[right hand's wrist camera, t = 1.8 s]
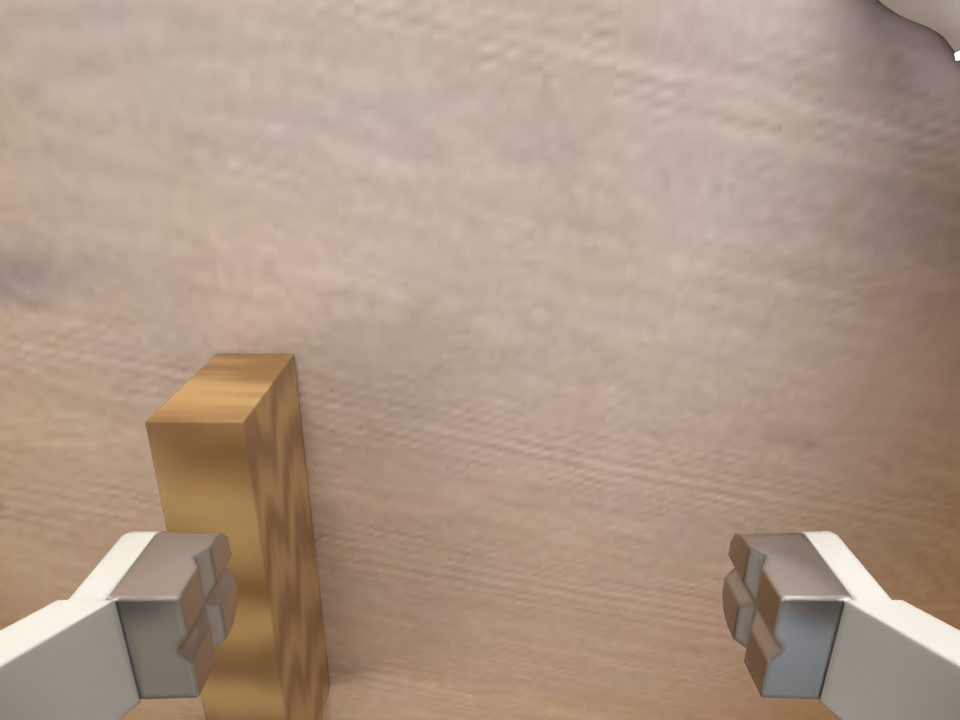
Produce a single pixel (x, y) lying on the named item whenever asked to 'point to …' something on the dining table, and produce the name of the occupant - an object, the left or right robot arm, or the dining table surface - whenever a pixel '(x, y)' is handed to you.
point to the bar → (249, 529)
